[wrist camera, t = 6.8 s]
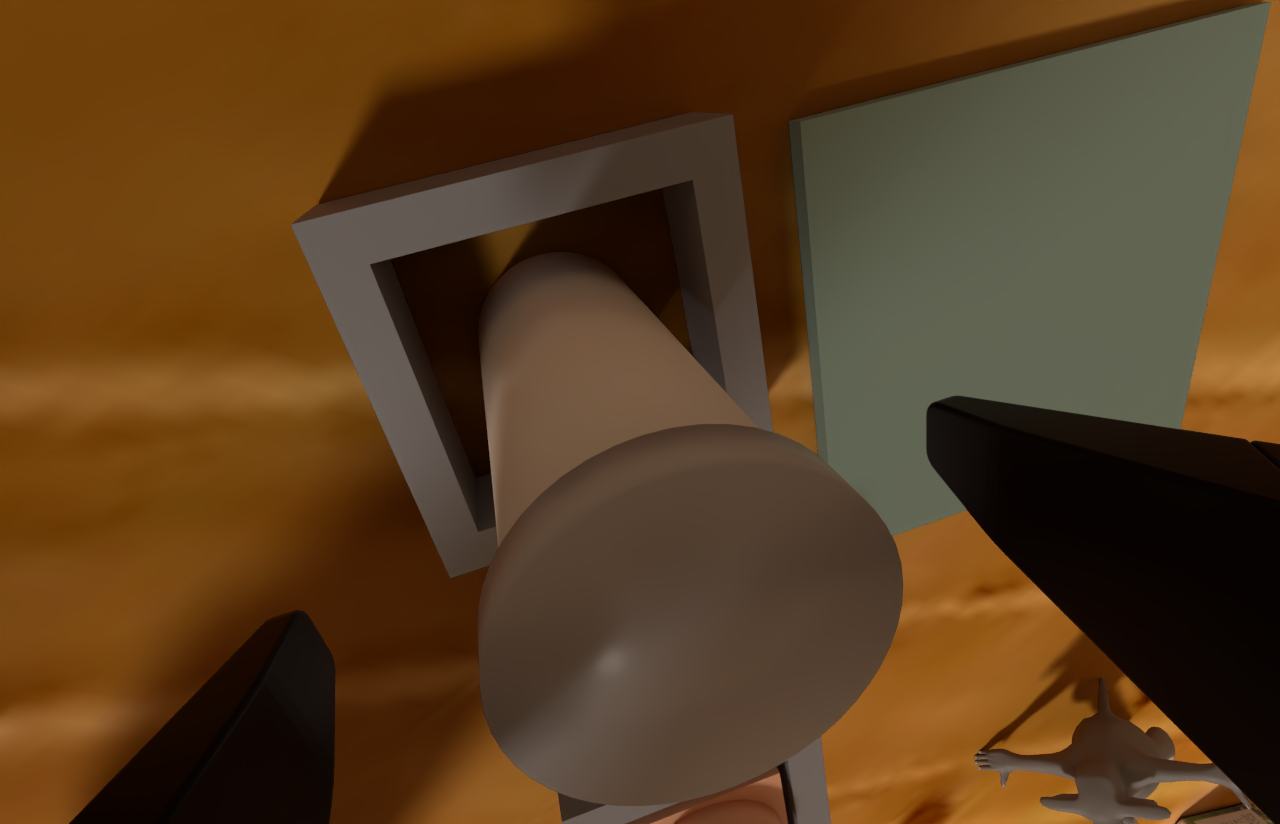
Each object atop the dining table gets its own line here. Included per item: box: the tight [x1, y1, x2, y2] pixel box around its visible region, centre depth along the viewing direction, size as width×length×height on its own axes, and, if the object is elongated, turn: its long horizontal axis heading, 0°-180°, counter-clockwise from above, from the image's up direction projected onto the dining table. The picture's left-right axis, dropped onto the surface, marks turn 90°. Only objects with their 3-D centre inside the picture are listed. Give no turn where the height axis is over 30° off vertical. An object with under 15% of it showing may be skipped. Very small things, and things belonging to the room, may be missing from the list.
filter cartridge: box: [478, 252, 903, 806], centre depth 12 cm, size 5×5×11 cm
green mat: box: [789, 2, 1271, 536], centre depth 19 cm, size 13×13×1 cm
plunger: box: [625, 766, 788, 824], centre depth 20 cm, size 4×4×6 cm
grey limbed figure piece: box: [974, 678, 1251, 824], centre depth 27 cm, size 10×6×9 cm
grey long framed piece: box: [291, 112, 831, 824], centre depth 17 cm, size 22×8×5 cm, turn 12°
